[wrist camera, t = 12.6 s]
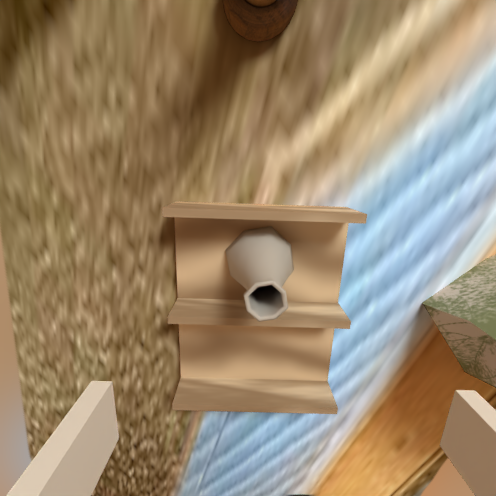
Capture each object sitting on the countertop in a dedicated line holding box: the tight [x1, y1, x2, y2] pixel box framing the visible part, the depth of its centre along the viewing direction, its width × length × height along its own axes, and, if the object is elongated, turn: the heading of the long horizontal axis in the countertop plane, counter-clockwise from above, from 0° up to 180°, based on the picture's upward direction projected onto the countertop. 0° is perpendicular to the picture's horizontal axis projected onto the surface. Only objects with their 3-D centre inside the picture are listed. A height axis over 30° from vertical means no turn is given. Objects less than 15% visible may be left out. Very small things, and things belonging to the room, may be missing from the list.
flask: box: [225, 226, 294, 322], centre depth 24 cm, size 7×7×10 cm
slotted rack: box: [162, 202, 367, 414], centre depth 29 cm, size 22×18×5 cm
